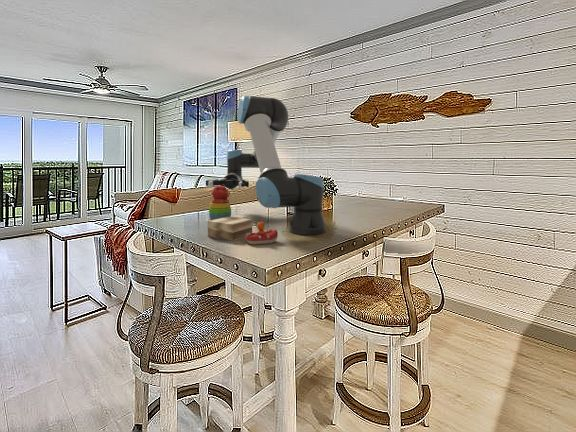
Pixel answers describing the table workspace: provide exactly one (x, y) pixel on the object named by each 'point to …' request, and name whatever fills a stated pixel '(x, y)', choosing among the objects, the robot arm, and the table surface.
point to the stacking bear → (220, 203)
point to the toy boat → (262, 236)
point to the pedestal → (229, 228)
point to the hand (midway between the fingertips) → (224, 185)
